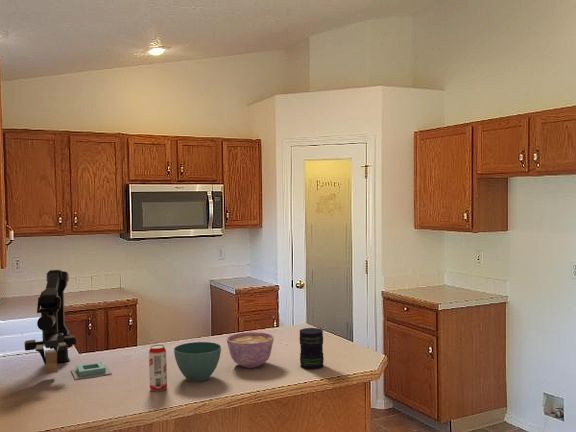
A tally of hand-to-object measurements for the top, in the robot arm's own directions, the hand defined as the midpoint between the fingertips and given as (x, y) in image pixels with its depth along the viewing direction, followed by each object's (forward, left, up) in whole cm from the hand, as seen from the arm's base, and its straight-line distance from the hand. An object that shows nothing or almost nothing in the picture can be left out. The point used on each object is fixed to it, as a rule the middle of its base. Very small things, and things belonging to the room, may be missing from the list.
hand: (51, 364), depth 230 cm
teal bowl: (+30, +51, -6) cm, 59 cm away
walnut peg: (0, 0, -3) cm, 3 cm away
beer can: (+35, +34, -6) cm, 49 cm away
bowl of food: (+24, +76, -6) cm, 80 cm away
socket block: (0, +15, -6) cm, 16 cm away
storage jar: (+39, +97, -6) cm, 105 cm away
